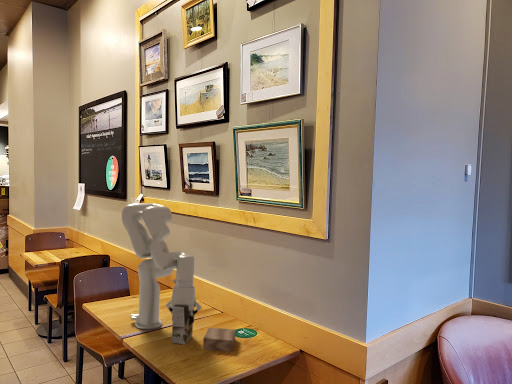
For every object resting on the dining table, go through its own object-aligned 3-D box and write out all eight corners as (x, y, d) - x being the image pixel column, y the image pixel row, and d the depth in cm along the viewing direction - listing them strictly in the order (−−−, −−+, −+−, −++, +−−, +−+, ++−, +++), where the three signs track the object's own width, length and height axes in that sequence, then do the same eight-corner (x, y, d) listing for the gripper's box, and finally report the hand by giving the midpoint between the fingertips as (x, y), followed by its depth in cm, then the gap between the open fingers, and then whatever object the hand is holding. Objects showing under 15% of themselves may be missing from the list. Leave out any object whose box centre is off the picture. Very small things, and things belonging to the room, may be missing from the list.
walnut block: (203, 350, 162) (203, 338, 162) (208, 338, 174) (209, 327, 174) (231, 352, 161) (232, 340, 161) (235, 340, 173) (235, 329, 173)
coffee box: (185, 344, 165) (186, 307, 165) (171, 342, 167) (172, 305, 166) (192, 336, 174) (194, 301, 174) (179, 334, 176) (180, 299, 175)
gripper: (162, 283, 167) (160, 324, 168) (201, 286, 165) (199, 328, 165) (168, 279, 175) (167, 318, 175) (206, 282, 172) (204, 322, 173)
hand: (183, 323), depth 170 cm, fingers closed on coffee box, 6 cm apart
